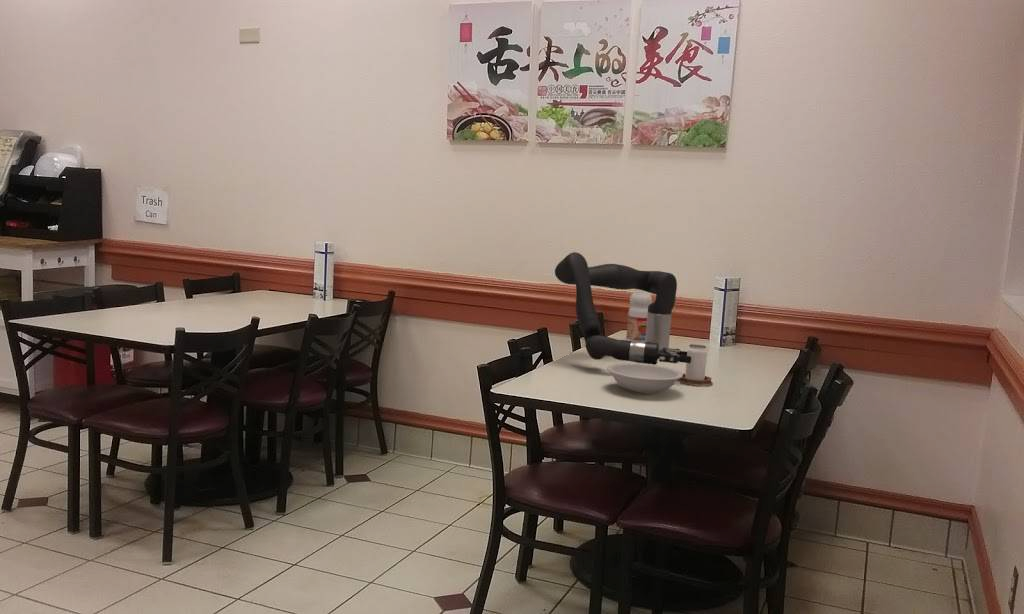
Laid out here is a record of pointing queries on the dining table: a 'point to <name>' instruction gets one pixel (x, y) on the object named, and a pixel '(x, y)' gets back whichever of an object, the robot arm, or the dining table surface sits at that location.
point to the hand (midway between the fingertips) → (691, 357)
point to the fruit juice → (638, 315)
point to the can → (696, 362)
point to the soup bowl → (644, 376)
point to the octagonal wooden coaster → (695, 381)
